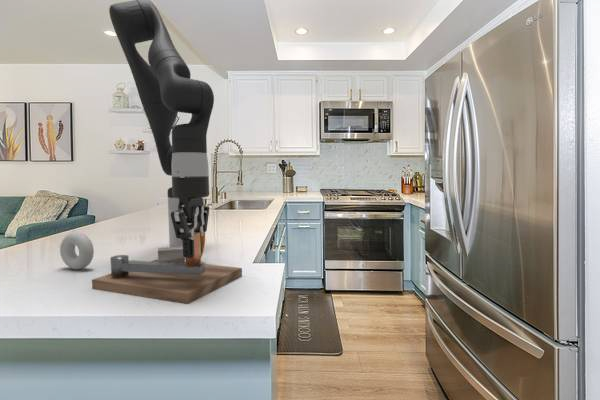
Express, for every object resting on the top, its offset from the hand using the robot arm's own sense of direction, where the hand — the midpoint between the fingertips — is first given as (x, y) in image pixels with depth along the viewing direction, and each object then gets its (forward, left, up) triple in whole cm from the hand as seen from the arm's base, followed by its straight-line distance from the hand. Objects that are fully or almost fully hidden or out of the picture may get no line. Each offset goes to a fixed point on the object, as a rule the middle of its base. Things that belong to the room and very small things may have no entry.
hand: (192, 254), depth 79 cm
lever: (+2, -9, -5) cm, 10 cm away
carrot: (-19, -14, -8) cm, 24 cm away
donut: (-3, -40, -8) cm, 41 cm away
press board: (-3, -9, -8) cm, 12 cm away
